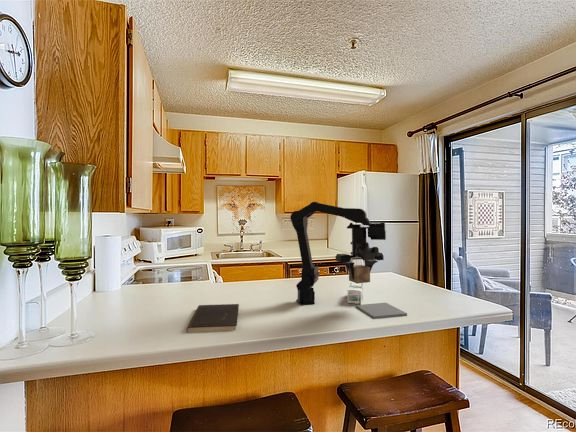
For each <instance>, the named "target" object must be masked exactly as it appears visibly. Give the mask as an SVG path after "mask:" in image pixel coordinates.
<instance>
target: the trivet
mask: <svg viewBox="0 0 576 432" xmlns="http://www.w3.org/2000/svg"><path fill="white" fill-rule="evenodd" d="M355 308H357V309H358V310H360V311H361V312H363V313H364V314H366V315H368V316H369V317H371V318H373V319H383V318H384V319H385V318H393V317H403V316H405V317H406V316H408V313H407V312H406V311H403V310H402V309H400V308H398V307H395V306H393V305H391V304H389V303H388V302H378V303H366V304H365V303H364V304H355Z"/></svg>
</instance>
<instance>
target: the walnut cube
mask: <svg viewBox="0 0 576 432" xmlns="http://www.w3.org/2000/svg"><path fill="white" fill-rule="evenodd" d="M353 270H354V279H351V276H350V274H349V273H348V281H350V282H351V283H357V284H358V283H361V284H364V283H365V284H366V283H371V272H370V267H368V266H365V264H354V266H353Z"/></svg>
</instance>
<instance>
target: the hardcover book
mask: <svg viewBox="0 0 576 432" xmlns="http://www.w3.org/2000/svg"><path fill="white" fill-rule="evenodd" d="M239 307H240V304H239V303H229V304H227V303H226V304H225V303H224V304H199V305H198V306H197V308H196V310H195V312H194V313H193V315H192V317H191V319H190V321H189V323H188V325H187V326H186V329H185V330H186V331H185V332H186V333H195V332H197V333H199V332H217V331H236V330H237V326H238V318H239Z"/></svg>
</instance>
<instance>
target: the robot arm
mask: <svg viewBox="0 0 576 432" xmlns="http://www.w3.org/2000/svg"><path fill="white" fill-rule="evenodd" d="M316 212H319V213H324V214H327V215H331V216H332V215H333V216H337V217H341V218H344V219H346V220H348V221H351V222H350V223H349V225H347V226H346V229H349V230H350V229H351V241H350V245H351V251H350V254H349V253H336V255H335V262H338V263H342V264H344V265H345V268H346V269H347V272H348V275H349V274H350V276H351V279H354V270H353V266H354V265H355V262H353V260H362V261H364V266H368V267H370V273H371V272H372V269H373V266H374V265H375V264H376V263H378V262H379V261H384V259H385V258H384V257H385V256H384V254H383V253H382V252H381V251H379V249H380V248H379V246H378V247H377V246H372V247H370V244H369V242H367V241H368V240H367V237H368V238H369V239H370V240H371V241H374V240H376V241H379V240H380V241H386V239H387V230H386V223H385V222H374V223H373V222H371V220H369V218H368V217H367V212H366V211H365V210H364V209H362V208H355V207H354V208H351V207H349V208H348V207H341V206H335V205H330V204H326V203H320V202H318V201H312V202H310V203H309V204H307V205H306V206H303V208H300V209H299V210H294V211H292V212H291V214H290V218H289V219H290V221H291V224H292V227H293V228H294V230H295V232H296V236H297V237H296V238H297V241H298V247H299V252H300V253H299V254H300V260H301V265H302V267H301V276H300V277H301V280H300V281H298V282H297V284H296V285H295V287H296V289H297V299H295V300H296V302H297V303H298V304H299V305H302V306H304V305H315V303H316V302H315V301H316V300H315V299H316V298H315V292H316V291H314V285H315V284H316V283H317V282H318V280H319V277H320V276H321V274H320V272H319V266H316V265H315V264H314V263H313V258H312V252H311V248H310V241H309V237H308V236H309V235H308V223H309V222H308V219H309V218H310V217H311V216H313V215H314V214H316ZM353 222H354V223H353ZM355 223H356V224H355ZM361 224H362V225H363V226H362V225H361Z"/></svg>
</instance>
